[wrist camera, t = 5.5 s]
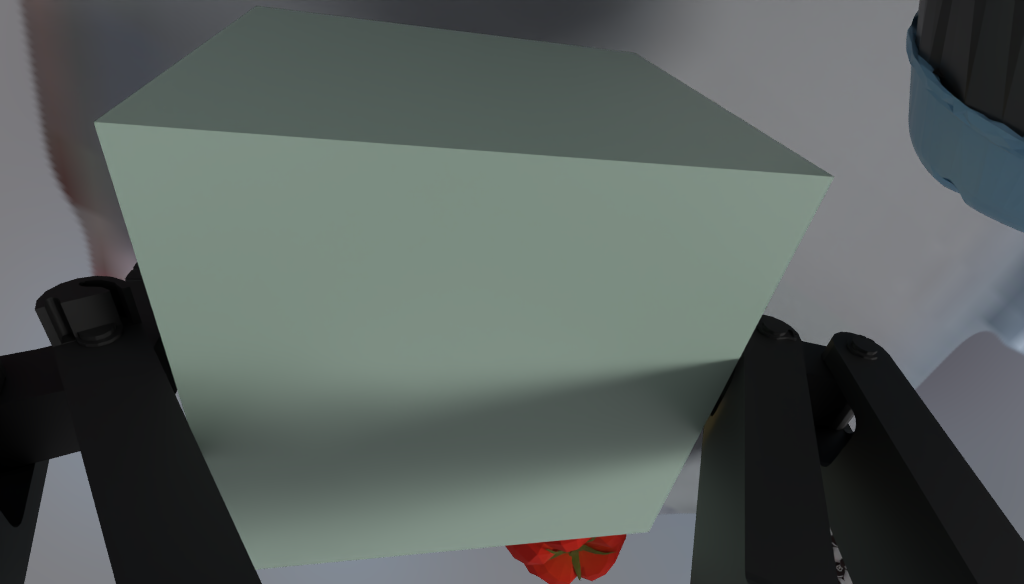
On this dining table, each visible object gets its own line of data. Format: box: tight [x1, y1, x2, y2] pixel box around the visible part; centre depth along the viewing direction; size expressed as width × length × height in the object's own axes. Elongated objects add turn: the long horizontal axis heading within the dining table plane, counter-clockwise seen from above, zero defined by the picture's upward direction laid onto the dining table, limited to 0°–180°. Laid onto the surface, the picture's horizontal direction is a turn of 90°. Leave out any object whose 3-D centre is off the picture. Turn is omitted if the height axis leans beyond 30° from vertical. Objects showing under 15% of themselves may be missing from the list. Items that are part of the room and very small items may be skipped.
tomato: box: [506, 534, 626, 584], centre depth 48 cm, size 11×12×9 cm
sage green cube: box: [94, 6, 834, 570], centre depth 14 cm, size 10×10×9 cm
